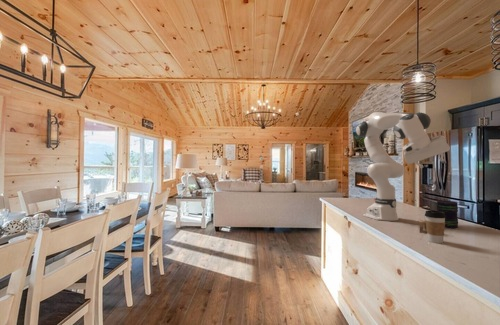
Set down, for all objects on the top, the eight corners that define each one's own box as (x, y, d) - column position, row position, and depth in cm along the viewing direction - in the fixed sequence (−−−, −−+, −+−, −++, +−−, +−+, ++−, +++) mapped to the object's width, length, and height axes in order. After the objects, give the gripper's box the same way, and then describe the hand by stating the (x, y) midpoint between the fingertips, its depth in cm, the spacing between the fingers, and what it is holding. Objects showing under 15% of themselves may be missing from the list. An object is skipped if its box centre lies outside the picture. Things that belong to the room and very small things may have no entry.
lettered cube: (419, 232, 132) (419, 221, 132) (420, 230, 137) (419, 219, 137) (433, 234, 128) (432, 223, 128) (433, 231, 133) (432, 220, 133)
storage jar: (462, 229, 137) (462, 203, 137) (443, 228, 139) (442, 203, 139) (451, 224, 147) (450, 200, 147) (433, 224, 149) (433, 200, 149)
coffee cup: (429, 243, 115) (428, 212, 115) (422, 237, 123) (421, 209, 123) (450, 244, 112) (449, 213, 112) (441, 239, 120) (441, 209, 120)
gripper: (442, 132, 124) (454, 155, 125) (399, 148, 136) (411, 169, 137) (444, 134, 119) (456, 158, 120) (400, 151, 131) (411, 173, 132)
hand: (432, 164), depth 128 cm, fingers open, 8 cm apart
